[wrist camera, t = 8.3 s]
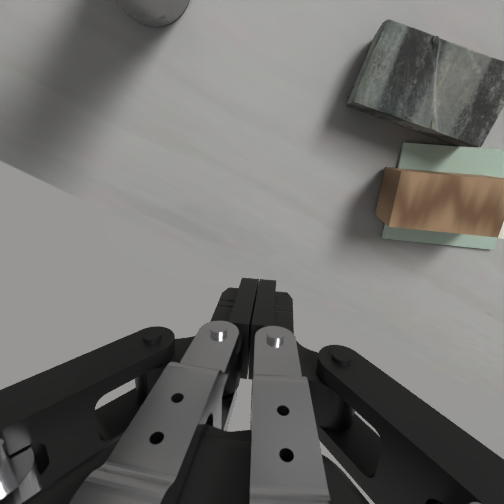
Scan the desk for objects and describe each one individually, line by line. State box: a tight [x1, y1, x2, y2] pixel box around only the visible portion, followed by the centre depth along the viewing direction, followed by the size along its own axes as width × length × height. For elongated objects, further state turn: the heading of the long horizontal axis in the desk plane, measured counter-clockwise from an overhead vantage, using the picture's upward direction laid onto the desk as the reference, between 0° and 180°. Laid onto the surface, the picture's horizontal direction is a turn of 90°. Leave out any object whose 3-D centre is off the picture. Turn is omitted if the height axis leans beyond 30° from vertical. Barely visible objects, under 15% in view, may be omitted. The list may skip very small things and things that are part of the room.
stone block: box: [346, 19, 504, 147], centre depth 33 cm, size 9×14×5 cm, turn 71°
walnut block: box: [375, 167, 504, 239], centre depth 36 cm, size 6×6×12 cm
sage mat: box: [381, 142, 504, 250], centre depth 38 cm, size 12×14×1 cm
